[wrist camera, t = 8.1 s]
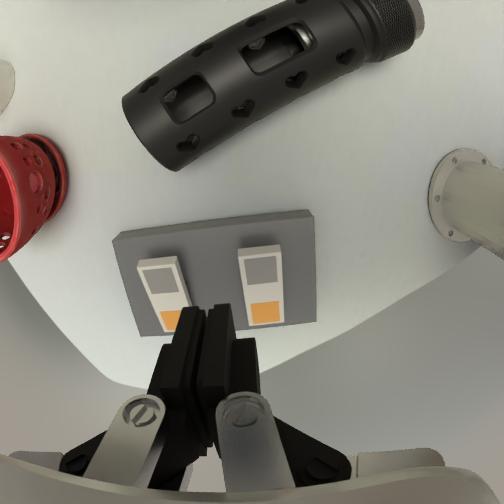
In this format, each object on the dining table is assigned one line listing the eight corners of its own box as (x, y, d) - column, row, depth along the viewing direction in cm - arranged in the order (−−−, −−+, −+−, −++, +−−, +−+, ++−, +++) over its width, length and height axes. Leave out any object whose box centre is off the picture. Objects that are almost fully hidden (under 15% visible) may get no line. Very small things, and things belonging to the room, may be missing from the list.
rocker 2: (279, 244, 30) (281, 252, 29) (283, 314, 36) (284, 322, 35) (237, 248, 30) (237, 257, 29) (248, 318, 36) (249, 326, 35)
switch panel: (308, 209, 35) (315, 219, 31) (311, 308, 40) (318, 326, 36) (121, 232, 35) (108, 244, 32) (146, 323, 40) (138, 341, 36)
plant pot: (-8, 170, 31) (-67, 190, 20) (48, 109, 29) (-17, 111, 18) (33, 246, 36) (-19, 285, 25) (95, 195, 34) (39, 226, 23)
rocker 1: (176, 255, 30) (174, 264, 29) (197, 322, 36) (197, 330, 35) (139, 259, 30) (136, 268, 29) (165, 324, 36) (164, 332, 35)
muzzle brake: (143, 98, 30) (104, 89, 20) (355, -11, 25) (389, -47, 16) (188, 167, 33) (166, 183, 24) (397, 54, 28) (445, 36, 19)
